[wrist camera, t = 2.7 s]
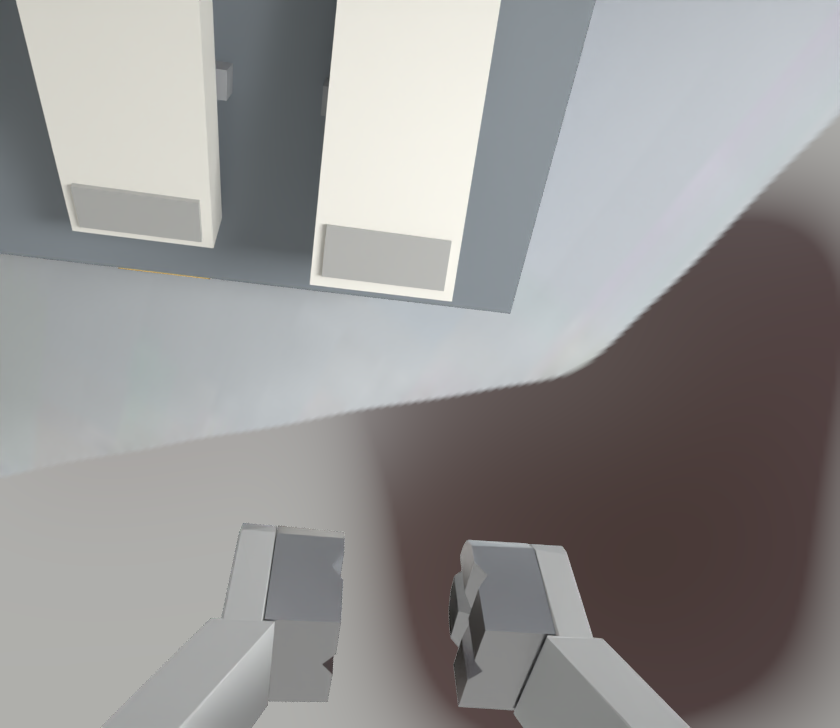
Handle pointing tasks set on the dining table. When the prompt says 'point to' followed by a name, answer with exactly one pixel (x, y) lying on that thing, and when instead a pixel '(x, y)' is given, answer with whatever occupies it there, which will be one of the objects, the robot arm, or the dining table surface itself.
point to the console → (305, 150)
